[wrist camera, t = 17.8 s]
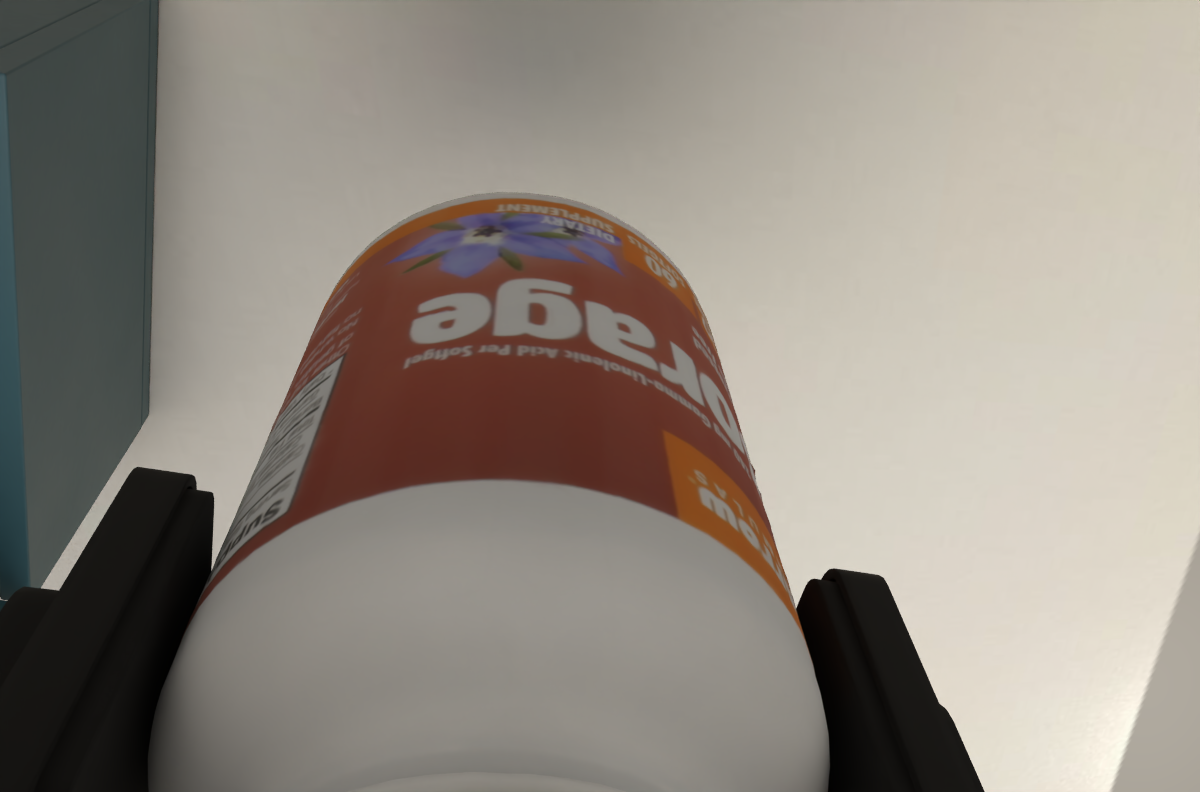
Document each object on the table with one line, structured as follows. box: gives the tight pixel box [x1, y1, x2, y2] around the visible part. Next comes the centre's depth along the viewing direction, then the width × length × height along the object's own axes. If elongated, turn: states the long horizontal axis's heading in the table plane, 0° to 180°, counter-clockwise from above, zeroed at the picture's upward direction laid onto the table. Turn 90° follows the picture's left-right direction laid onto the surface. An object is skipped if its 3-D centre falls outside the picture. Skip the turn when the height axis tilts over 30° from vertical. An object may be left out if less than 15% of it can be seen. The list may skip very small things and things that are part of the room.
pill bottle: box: [148, 192, 830, 792], centre depth 11 cm, size 6×6×11 cm
